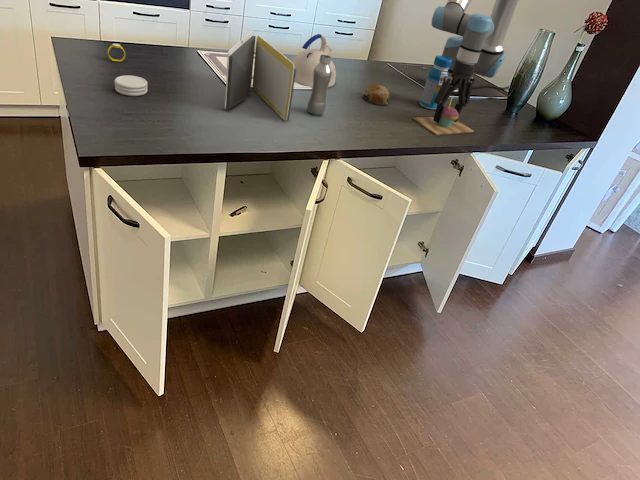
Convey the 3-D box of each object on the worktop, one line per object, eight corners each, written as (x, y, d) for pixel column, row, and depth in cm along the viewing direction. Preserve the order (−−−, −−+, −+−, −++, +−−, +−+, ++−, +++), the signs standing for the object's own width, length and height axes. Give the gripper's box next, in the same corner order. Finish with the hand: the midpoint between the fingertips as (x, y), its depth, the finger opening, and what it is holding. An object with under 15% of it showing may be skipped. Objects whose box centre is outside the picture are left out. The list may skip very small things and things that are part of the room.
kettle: (344, 82, 205) (353, 39, 195) (318, 91, 190) (327, 44, 179) (305, 67, 212) (312, 25, 202) (278, 75, 197) (284, 29, 186)
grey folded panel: (296, 121, 161) (305, 63, 149) (235, 124, 150) (240, 61, 139) (255, 83, 184) (260, 30, 172) (200, 83, 173) (202, 27, 162)
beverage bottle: (417, 106, 198) (432, 57, 186) (420, 100, 204) (435, 53, 193) (436, 112, 196) (453, 63, 185) (439, 106, 203) (455, 58, 191)
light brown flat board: (449, 117, 194) (450, 116, 193) (473, 132, 185) (474, 130, 184) (412, 119, 184) (412, 117, 184) (435, 135, 175) (436, 133, 174)
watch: (108, 62, 174) (107, 45, 170) (107, 59, 176) (106, 42, 172) (126, 62, 176) (125, 46, 173) (125, 60, 178) (124, 43, 175)
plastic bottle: (326, 112, 173) (337, 56, 161) (320, 118, 167) (331, 61, 156) (310, 107, 174) (320, 51, 162) (303, 113, 168) (313, 55, 157)
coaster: (152, 89, 161) (152, 79, 159) (140, 99, 152) (139, 88, 150) (123, 83, 160) (122, 72, 158) (109, 92, 152) (108, 81, 150)
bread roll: (379, 114, 191) (393, 99, 187) (360, 98, 189) (373, 82, 185) (382, 107, 199) (394, 92, 195) (363, 91, 197) (375, 76, 193)
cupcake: (450, 131, 179) (461, 100, 172) (429, 123, 182) (439, 92, 175) (457, 125, 186) (468, 95, 179) (437, 118, 188) (447, 88, 182)
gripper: (479, 59, 178) (458, 116, 191) (437, 57, 167) (417, 118, 180) (493, 65, 173) (470, 124, 186) (451, 64, 162) (430, 126, 175)
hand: (444, 121), depth 183 cm, fingers closed on cupcake, 8 cm apart
